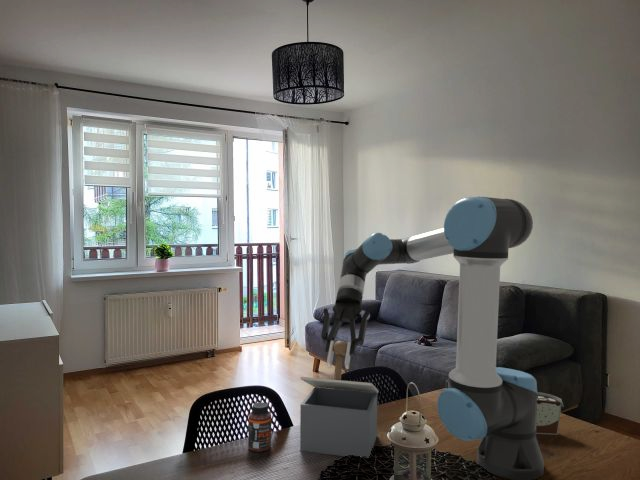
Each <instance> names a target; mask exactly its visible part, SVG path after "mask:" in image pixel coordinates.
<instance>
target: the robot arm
mask: <svg viewBox="0 0 640 480" xmlns="http://www.w3.org/2000/svg"><path fill="white" fill-rule="evenodd" d="M533 224H534V222H533V217H532V214H531V211H530V210H529V209H528V207H526V206H525V205H524V204H523V203H521V202H520V201H518V200H515V199H511V198H498V197H491V196H490V197H488V196H468V197H464V198H461V199H460V200H458V201H456V202H455V203H454V204H453V206H451V207H450V208H449V209H448V212H447V213H446V215H445V218H444V221H443V227H440V228H438V229H434V230H431V231H427V232H423V233H420V234H416V235H413V236H409V237H405V238H396V239H392V238H389V237H388V236H387V235H386V234H383V233H382V232H374V233H373V234H371V235H370V236H368V237H367V238H366V239H365V240H364V241H363V242H362V243H361V244H360V245H359V246H358V247H357V248H352V249H349V250H347V251H346V252H345V255H344V258H343V260H342V267H341V271H340V279H339V283H338V287H337V292H336V293H337V294H336V298H335V303H334V305H333V306H332V308H329V309H328V308H323V314H324V317H323V322H322V329H321V334H320V336H321V340H322V343H325V354H326V355H327V357H326V358H327V359H326V365H327V367H328V368H332V365H333V359H334V354H335V353H334V351H333V345H334V344H335V340H336V337H337V335H338V333H339V330H340V328H341V327H342V325H343V323H349V332H350V341H347V351H346V354H345V358H344V367H345V369H346V370H349V369H350V363H351V357H355V355H356V351H357V349H356V348H357V346H363V345H364V342H365V337H366V331H367V326H368V322H369V320H370V319H371V314H370V310H363V308H362V304H363V295H364V290H365V283H366V277H367V275H368V274H369V273H370V272H371V271H372V270H373V269H375V268H376V266H381V265H395V264H396V265H397V264H399V265H400V264H401V265H402V264H411V265H412V264H415V263H419V262H420V261H423V260H428V259H432V258H437V257H442V256H447V255H453V258H454V259H455V260H456V261H457V262H458V264H459V280H458V281H459V283H458V285H459V286H458V303H457V305H458V308H457V333H456V335H457V336H456V355H455V356H456V358H455V359H456V360H455V368H452V369H451V371H449V373H448V379H449V381H448V388H446V387H445V388H444V389H443V390H441V392H440V393H439V394H438V397H437V400H436V408H437V413H438V417H439V418H440V421H441V423H442V424H443V425H444V427H445V429H446V430H447V432H448V433H450V434H451V435H452V436H453V437H455V438H456V439H458V440H461V441H462V442H463V441H465V442H472V441H475V440H476V441H477V440H478V441H479V440H480V441H479V444H478V447H477V450H476V461H477V463H478V465H479V466H480V467H481V466H482V467H483V468H484V470H485V469H486V470H487V471H486V470H485V471H486V472H488V473H490V474H492V475H494V476H497V477H500V478H504V479H507V480H536V479H537V480H538V479H539V478H541V477H542V476H543V475H544V471H545V469H544V467H545V463H544V462H545V461H544V458H543V455H542V452H541V449H540V446H539V443H538V442H539V441H538V439H537V434H536V417H537V393H538V386H537V385H538V384H537V383H538V382H537V379H536V378H535V377H534V376H533V375H532V374H530V373H528V372H525V371H522V370H518V369H517V370H516V369H513V368H506V367H500V366H498V367H497V354H498V353H497V346H498V327H499V326H498V325H499V324H498V322H499V307H500V306H499V305H500V280H501V279H500V278H501V266H502V265H503V264H504V263H505V262H507V260H509V249H513V248H516V247H518V246H520V245H522V244H523V243H525V242H526V241H527V240H528V238H529V237H530V235H531V234H532V232H533V231H532V230H533V227H534V226H533ZM333 314H334V316H335V318H334V319H335V320H334V323H333V325H332V327H331V329H330V324H331V318H332V316H333ZM360 316H361V320H360V321H361V322H360V327H359V331H358V336H357V335H356V324H355V323H356V322H355V321H356V320H357V319H358V318H359V317H360ZM329 329H330V331H329ZM482 467H481V468H482ZM483 468H482V469H483Z"/></svg>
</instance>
